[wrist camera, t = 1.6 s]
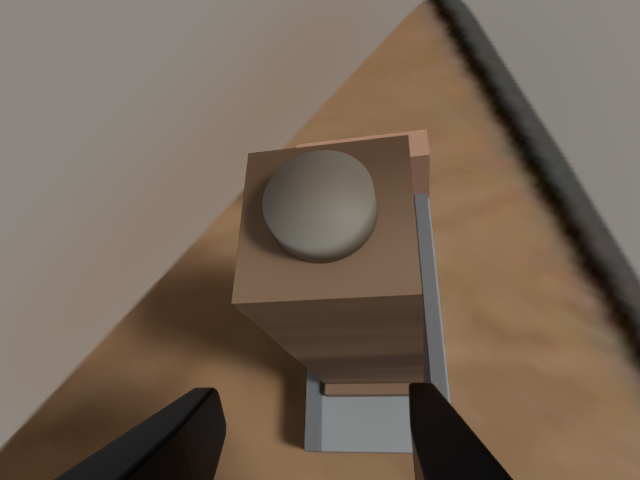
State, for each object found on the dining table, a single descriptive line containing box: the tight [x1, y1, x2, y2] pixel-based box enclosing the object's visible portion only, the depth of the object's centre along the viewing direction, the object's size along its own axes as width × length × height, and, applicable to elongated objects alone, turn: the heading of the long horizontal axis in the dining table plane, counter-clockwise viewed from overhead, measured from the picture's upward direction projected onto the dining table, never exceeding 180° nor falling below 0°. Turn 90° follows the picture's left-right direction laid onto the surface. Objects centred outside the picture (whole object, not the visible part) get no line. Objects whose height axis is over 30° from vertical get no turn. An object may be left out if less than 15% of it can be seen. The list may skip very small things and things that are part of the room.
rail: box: [297, 129, 450, 454], centre depth 20 cm, size 13×6×5 cm, turn 179°
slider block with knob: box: [231, 135, 424, 397], centre depth 15 cm, size 5×4×12 cm
